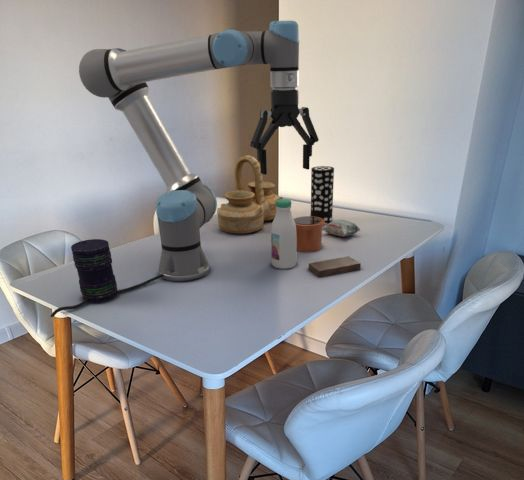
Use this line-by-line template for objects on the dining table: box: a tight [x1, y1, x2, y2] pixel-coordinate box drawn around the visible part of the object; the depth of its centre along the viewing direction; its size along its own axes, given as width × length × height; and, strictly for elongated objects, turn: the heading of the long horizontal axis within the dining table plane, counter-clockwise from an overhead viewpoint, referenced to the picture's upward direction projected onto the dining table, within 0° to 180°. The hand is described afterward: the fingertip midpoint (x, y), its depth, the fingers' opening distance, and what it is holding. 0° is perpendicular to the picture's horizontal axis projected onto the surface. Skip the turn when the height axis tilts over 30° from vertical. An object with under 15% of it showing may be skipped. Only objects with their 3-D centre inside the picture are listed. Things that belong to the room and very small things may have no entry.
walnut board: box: [308, 255, 362, 278], centre depth 155 cm, size 14×7×2 cm, turn 112°
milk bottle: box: [270, 198, 298, 270], centre depth 155 cm, size 8×8×20 cm
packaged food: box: [322, 219, 361, 238], centre depth 183 cm, size 9×12×5 cm
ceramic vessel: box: [216, 155, 284, 234], centre depth 194 cm, size 34×18×25 cm, turn 154°
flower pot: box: [293, 215, 325, 253], centre depth 172 cm, size 11×11×9 cm
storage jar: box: [70, 238, 119, 305], centre depth 140 cm, size 10×10×15 cm
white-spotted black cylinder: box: [310, 165, 335, 226], centre depth 194 cm, size 8×8×20 cm
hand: (285, 171), depth 148 cm, fingers open, 13 cm apart
